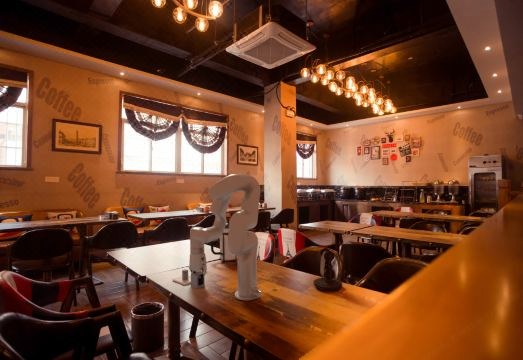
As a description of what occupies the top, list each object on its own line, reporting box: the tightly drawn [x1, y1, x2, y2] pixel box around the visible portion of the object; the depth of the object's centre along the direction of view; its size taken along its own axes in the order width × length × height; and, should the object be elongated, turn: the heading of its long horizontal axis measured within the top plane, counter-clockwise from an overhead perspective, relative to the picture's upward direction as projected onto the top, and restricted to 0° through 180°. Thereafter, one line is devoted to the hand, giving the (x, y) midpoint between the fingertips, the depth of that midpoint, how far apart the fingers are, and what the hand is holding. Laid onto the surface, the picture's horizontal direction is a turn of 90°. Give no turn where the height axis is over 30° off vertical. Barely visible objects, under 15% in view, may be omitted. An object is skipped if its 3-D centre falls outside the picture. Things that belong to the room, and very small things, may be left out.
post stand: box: [172, 269, 191, 286], centre depth 161 cm, size 12×9×6 cm
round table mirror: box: [313, 247, 343, 292], centre depth 148 cm, size 15×15×20 cm
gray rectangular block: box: [190, 272, 205, 289], centre depth 153 cm, size 5×5×7 cm
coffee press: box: [210, 218, 238, 264], centre depth 202 cm, size 17×16×30 cm
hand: (197, 283), depth 153 cm, fingers closed on gray rectangular block, 5 cm apart
